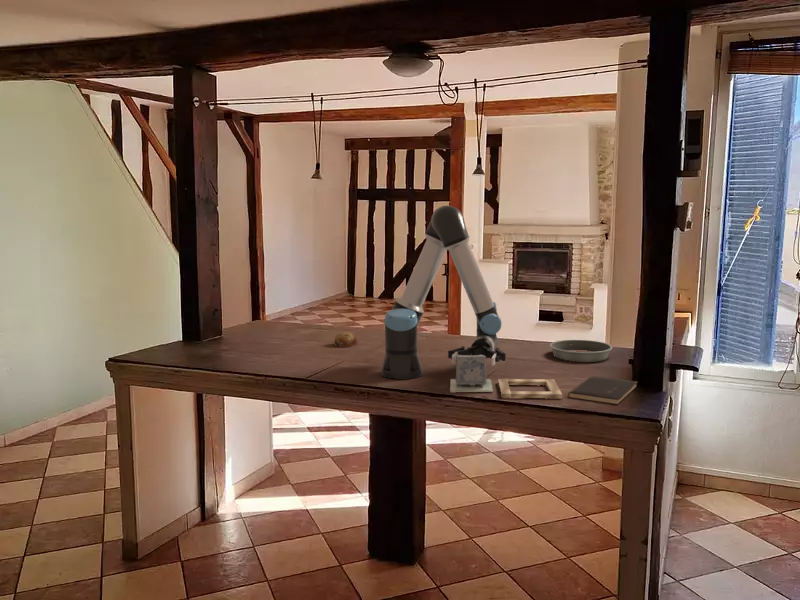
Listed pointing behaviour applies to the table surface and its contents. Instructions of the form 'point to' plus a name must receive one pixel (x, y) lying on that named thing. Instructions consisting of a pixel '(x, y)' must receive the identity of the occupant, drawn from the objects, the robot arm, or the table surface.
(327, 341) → the table surface
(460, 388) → the sage tile
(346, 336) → the bread roll
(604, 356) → the cake pan
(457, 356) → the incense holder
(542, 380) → the frame
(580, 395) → the hardcover book
